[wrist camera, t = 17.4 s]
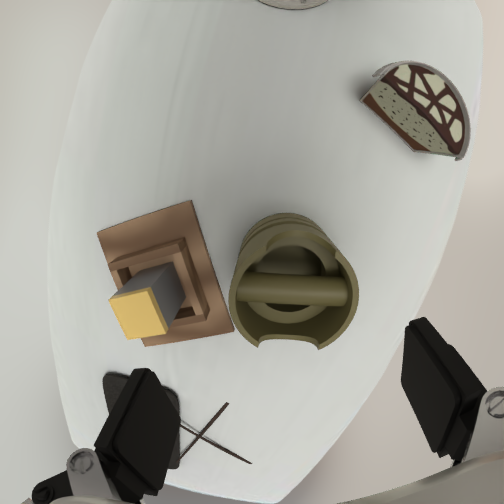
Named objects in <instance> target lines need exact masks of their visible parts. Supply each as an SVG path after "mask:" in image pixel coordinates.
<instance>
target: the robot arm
mask: <svg viewBox="0 0 504 504" xmlns="http://www.w3.org/2000/svg"><path fill="white" fill-rule="evenodd" d="M259 1H261V2H263V3H265V4H268V5H271V6H275V7H278V8H285V9H307V8H311V7H316V6H318V5H320V4H323V3H324V2H326V1H327V0H259ZM302 3H303V4H302ZM401 384H402V387H403V389H404V391H405V393H406V396H407V398H408V400H409V402H410V404H411V406H412V408H413V410H414V412H415V414H416V416H417V419H418V421H419V423H420V425H421V428H422V430H423V432H424V434H425V436H426V439H427V441H428V443H429V446H430V448H431V450H432V452H434V453H435V452H437V453H438V456H439V458H441V457H443V456H445V455H447V454H449V455H450V457H451V459H453V462H452V464H451V467H450V468H449V469H446V470H444V471H441V472H439V473H436V474H434V475H431V476H429V477H426V478H424V479H421V480H418V481H416V482H413V483H410V484H407V485H404V486H401V487H398V488H395V489H392V490H389V491H385V492H382V493H379V494H375V495H371V496H368V497H364V498H360V499H356V500H351V501H347V502H342V503H338V504H504V387H496V388H493V389H491V390H489V391H488V392H487V390H486V389H485V387H484V386H483V385H482V383H481V382H480V381H479V379H478V378H477V377H476V375H475V374H474V373H473V371H472V370H471V369H470V367H469V366H468V365H467V364H466V362H465V361H464V359H463V358H462V357H461V356H460V355H459V353H458V352H457V351H456V349H455V348H454V347H453V346H452V345H449V344H447V343H446V341H445V340H444V339H443V338H442V337H441V335H440V334H439V333H438V332H437V330H436V329H435V328H434V327H433V326H432V324H431V323H430V322H429V321H428V320H427V318H425V317H421V318H418V319H415V320H412V321H410V322H409V326H406V328H405V338H404V353H403V364H402V373H401ZM180 423H181V419H180V416H179V414H178V412H177V411H176V409H175V407H174V406H173V404H172V402H171V401H170V399H169V397H168V395H167V394H166V392H165V390H164V388H163V387H162V385H161V383H160V381H159V380H158V378H157V376H156V374H155V373H154V372H152V371H151V370H150V369H149V368H139V369H134V370H133V371H132V373H131V375H130V377H129V379H128V380H127V382H126V384H125V386H124V388H123V390H122V392H121V393H120V395H119V397H118V399H117V401H116V403H115V405H114V407H113V408H112V410H111V412H110V414H109V416H108V418H107V420H106V422H105V424H104V426H103V428H102V430H101V432H100V434H99V436H98V438H97V440H96V442H95V444H94V446H95V447H96V449H95V451H93V450H92V449H89V448H82V449H79V450H77V451H75V452H74V453H72V454H71V455H70V457H69V459H68V460H67V464H66V465H67V470H66V471H64V472H62V473H60V474H58V475H55V476H53V477H51V478H49V479H47V480H44V481H42V482H40V483H38V484H37V485H36V486H35V487H34V489H33V491H32V500H31V499H30V498H28V499H27V500H25V501H24V502H23V503H22V504H145V502H144V500H143V494H147V495H153V496H157V494H158V491H159V490H161V489H162V487H163V484H164V480H165V477H166V473H167V469H168V466H169V462H170V459H171V455H172V452H173V448H174V444H175V441H176V437H177V434H178V430H179V427H180Z"/></svg>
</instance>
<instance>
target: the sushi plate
mask: <svg viewBox="0 0 504 504" xmlns="http://www.w3.org/2000/svg"><path fill="white" fill-rule="evenodd" d="M128 379H129V378H125V377H122V376H118V375H113V374H107V375H105V376H104V377H103V389H104V395H105V399H106V403H107V408H108V412H109V414H110V412H111V410H112V408H113V407H114V405H115V403H116V401H117V399H118V397H119V395H120V393H121V392H122V390H123V388H124V386H125V384H126V382H127V380H128ZM164 390H165V389H164ZM165 392H166V394H167V395H168V397H169V399H170V401H171V402H172V404H173V406H174V407H175V409H176V411H177V412H178V414H179V403H178V400H177V397H176V396H175V395H174V394H173V393H171V392H170V391H168V390H165ZM228 405H229V403H227V402H226V403H225V404H224V405H223V407H222V408H221V409H220V410H219V411H218V412H217V414H216V415H215V416H214V417H213V418H212V419H211V421H210V422H209V423H208V424H207V426H206V427H205V428H204V429H203V431H202V432H201V433H200V434H199V435H198V434H196V433H194V432H193V431H191V430H189V429H188V428H186V427H184V426H183V425H181V424H180V427H182V428H184V429H185V430H187V431H189V432H190V433H192V434H194V435H196V436H197V438H196V439H195V440H194V442H193V443H192V444H191V445H190V446H189V447H188V449H187V450H186V451H185V452H184V453H183V454H182V456H181V457H180V452H179V430H178V434H177V437H176V441H175V444H174V448H173V452H172V455H171V459H170V462H169V466H168V469H177V468H178V467H179V463H180V459H181V458H182V457H183V456H184V455H185V454H186V453H187V452H188V450H189V449H190V448H191V447H192V446H193V445H194V444H195V443H196V442H197V440H198V439H199V438H201V439H203V440H204V441H206V442H208V443H210V444H211V445H213V446H215V447H217V448H219V449H221V450H222V451H224V452H226V453H228V454H230V455H232V456H234V457H236V458H238V459H240V460H242V461H244V462H247V463H249V464H252V463H251V462H249V461H247V460H245V459H244V458H242V457H240V456H238V455H237V454H235V453H233V452H231V451H229V450H227V449H225V448H223V447H221V446H219V445H217V444H215V443H213V442H211V441H209V440H207V439H205V438H203V437H202V435H203V434H204V433H205V432H206V430H207V429H208V428H209V427H210V426H211V425H212V424H213V422H214V421H215V420H216V419H217V418H218V417H219V415H220V414H221V413H222V412H223V411H224V410H225V408H226V407H227V406H228Z"/></svg>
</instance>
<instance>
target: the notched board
mask: <svg viewBox="0 0 504 504" xmlns="http://www.w3.org/2000/svg"><path fill="white" fill-rule="evenodd" d="M97 235H98V238H99V241H100V244H101V247H102V249H103V252H104V255H105V258H106V260H107V263H108V267H109V270H110V272H111V275H112V277H113V279H114V282H115V284H116V287H117V289H118V290H119V289H120V288H121V287H123V286H124V285H125V284H126V283H127V282H128V281H129V280H130V279H131V278H132V277H133V276H134V275H135V274H136V273H137V272H138V271H140V270H143V269H147V268H150V267H154V266H158V265H161V264H165V263H169V262H172V261H173V263H174V266H175V268H176V271H177V274H178V277H179V279H180V282H181V284H182V287H183V290H184V292H185V295H186V298H185V300H184V302H183V304H182V305H181V307H180V309H179V311H178V313H177V314H176V316H175V318H174V320H173V322H172V324H171V325H170V327H169V329H168V331H167V333H166V334H162V335H156V336H149V337H143V338H141V340H142V342H143V344H144V346H145V347H147V346H154V345H161V344H167V343H174V342H180V341H186V340H192V339H198V338H203V337H209V336H214V335H219V334H225V333H230V332H234V326H233V323H232V320H231V318H230V315H229V312H228V309H227V306H226V303H225V301H224V298H223V295H222V292H221V289H220V286H219V283H218V280H217V277H216V274H215V271H214V268H213V265H212V262H211V259H210V256H209V253H208V250H207V247H206V244H205V241H204V238H203V235H202V232H201V229H200V225H199V222H198V219H197V216H196V213H195V209H194V206H193V203H192V200H190V201H186V202H183V203H180V204H177V205H174V206H171V207H168V208H165V209H162V210H159V211H156V212H153V213H150V214H147V215H144V216H141V217H138V218H135V219H132V220H129V221H127V222H124V223H121V224H118V225H116V226H113V227H110V228H107V229H105V230H102V231H99V232H97Z"/></svg>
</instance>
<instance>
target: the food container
mask: <svg viewBox="0 0 504 504" xmlns="http://www.w3.org/2000/svg"><path fill="white" fill-rule="evenodd" d="M379 75H380V76H381V77H380V78H379V79H378V80H377V82H376V83H375V84H374V85H373V86H372V87H371V88H370V89H369V91H368V92H367V93H366V94H365V95H364V96H363V97H362V99H361V100H360V102H361V103H362V104H364V105H365V106H366V107H367V108H368V109H369V110H371V111H372V112H373V113H374V114H375V115H376V116H377V117H378V118H380V119H381V120H382V121H383V122H384V123H385V124H386V125H387V126H388V127H389V128H390V129H391V130H392V131H393V132H394V133H396V134H397V135H398V136H399V137H400V138H401V139H402V140H403V141H404V142H405V143H406V144H407V145H408V146H409V147H410V148H411V150H412V151H413V152H422V153H430V154H438V155H445V156H451V157H456V158H455V161H458V160H462V158H464V156H465V154H466V152H467V150H468V146H469V142H470V132H471V128H470V119H469V114H468V110H467V108H466V105H465V102H464V100H463V98H462V96H461V94H460V93H459V91H458V89H457V88H456V87H455V85H454V84H453V83H452V82H451V81H450V80H449V79H448V78H447V77H446V76H445V75H444V74H443V73H441V72H440V71H439V70H437V69H435V68H434V67H432V66H430V65H427V64H424V63H420V62H416V61H401V62H395V63H391V64H388V65H386V66H384V67H382V68H381V69H379V70H378V71H376V72H375V74H374V75H373V77H375V76H379Z"/></svg>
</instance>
